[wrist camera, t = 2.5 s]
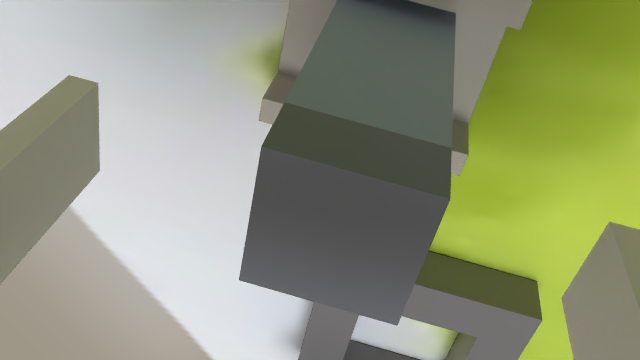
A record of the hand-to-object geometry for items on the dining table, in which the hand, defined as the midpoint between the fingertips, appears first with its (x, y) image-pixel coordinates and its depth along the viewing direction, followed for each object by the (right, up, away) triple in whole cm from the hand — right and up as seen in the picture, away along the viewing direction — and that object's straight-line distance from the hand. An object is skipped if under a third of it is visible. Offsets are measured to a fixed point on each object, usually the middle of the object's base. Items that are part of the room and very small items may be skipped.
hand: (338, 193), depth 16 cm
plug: (+2, +6, +8) cm, 10 cm away
